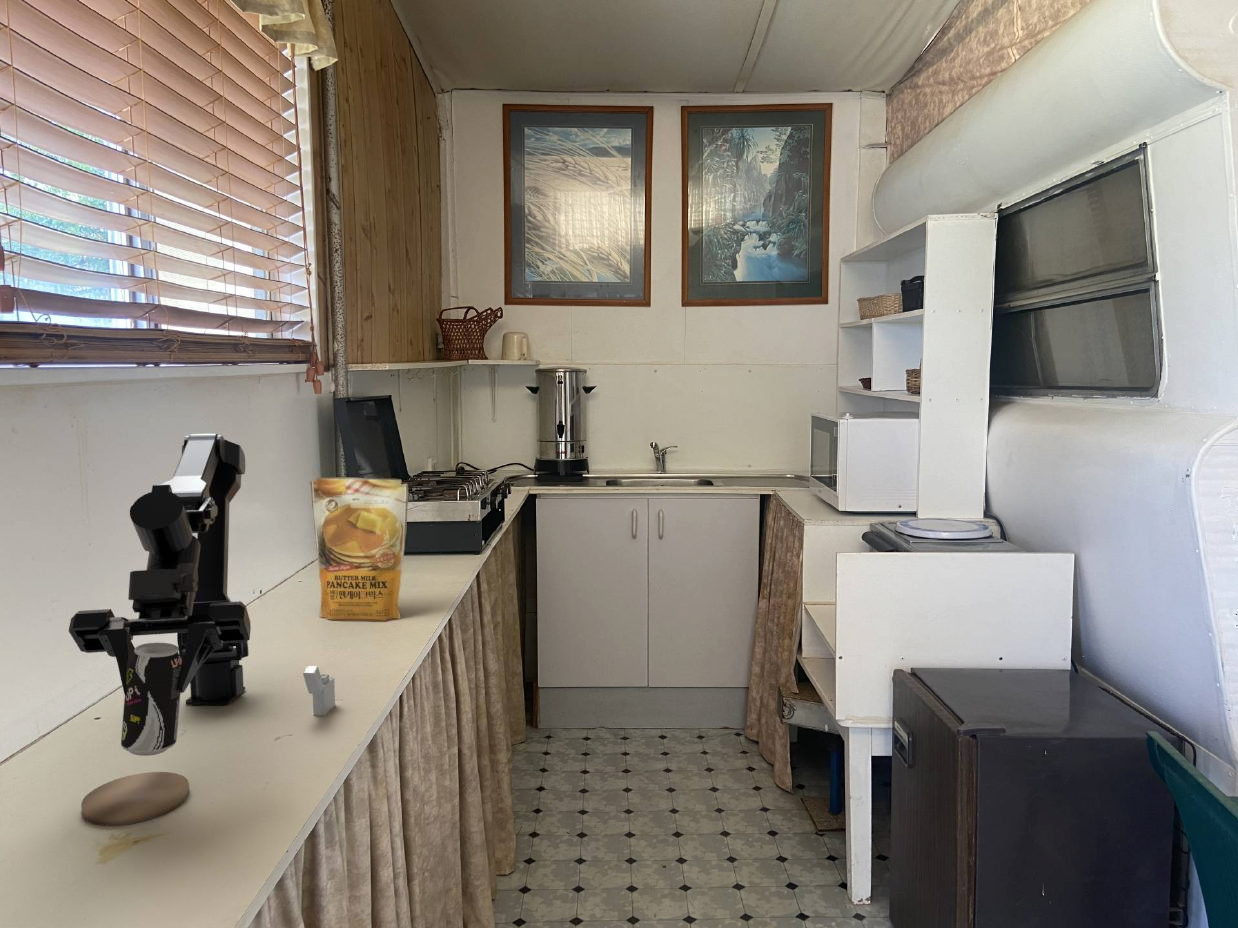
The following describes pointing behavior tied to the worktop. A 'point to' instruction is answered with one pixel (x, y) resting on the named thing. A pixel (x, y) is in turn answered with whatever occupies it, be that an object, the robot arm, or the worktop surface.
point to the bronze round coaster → (135, 798)
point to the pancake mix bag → (360, 546)
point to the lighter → (320, 690)
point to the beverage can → (151, 699)
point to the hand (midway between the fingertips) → (154, 693)
